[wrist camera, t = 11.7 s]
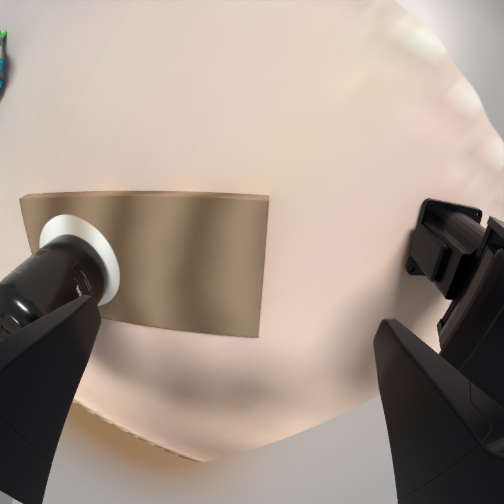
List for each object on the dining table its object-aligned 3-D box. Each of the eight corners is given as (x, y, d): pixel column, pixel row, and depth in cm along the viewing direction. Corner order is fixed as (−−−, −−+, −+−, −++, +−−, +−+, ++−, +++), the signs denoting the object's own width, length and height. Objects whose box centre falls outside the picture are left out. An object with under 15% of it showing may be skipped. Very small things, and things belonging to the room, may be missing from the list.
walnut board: (268, 195, 20) (268, 201, 18) (258, 328, 25) (258, 339, 24) (27, 194, 20) (17, 199, 19) (55, 300, 26) (49, 308, 25)
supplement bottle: (125, 284, 22) (53, 398, 12) (81, 308, 24) (18, 401, 13) (77, 215, 20) (-29, 304, 9) (39, 251, 21) (-44, 331, 11)
